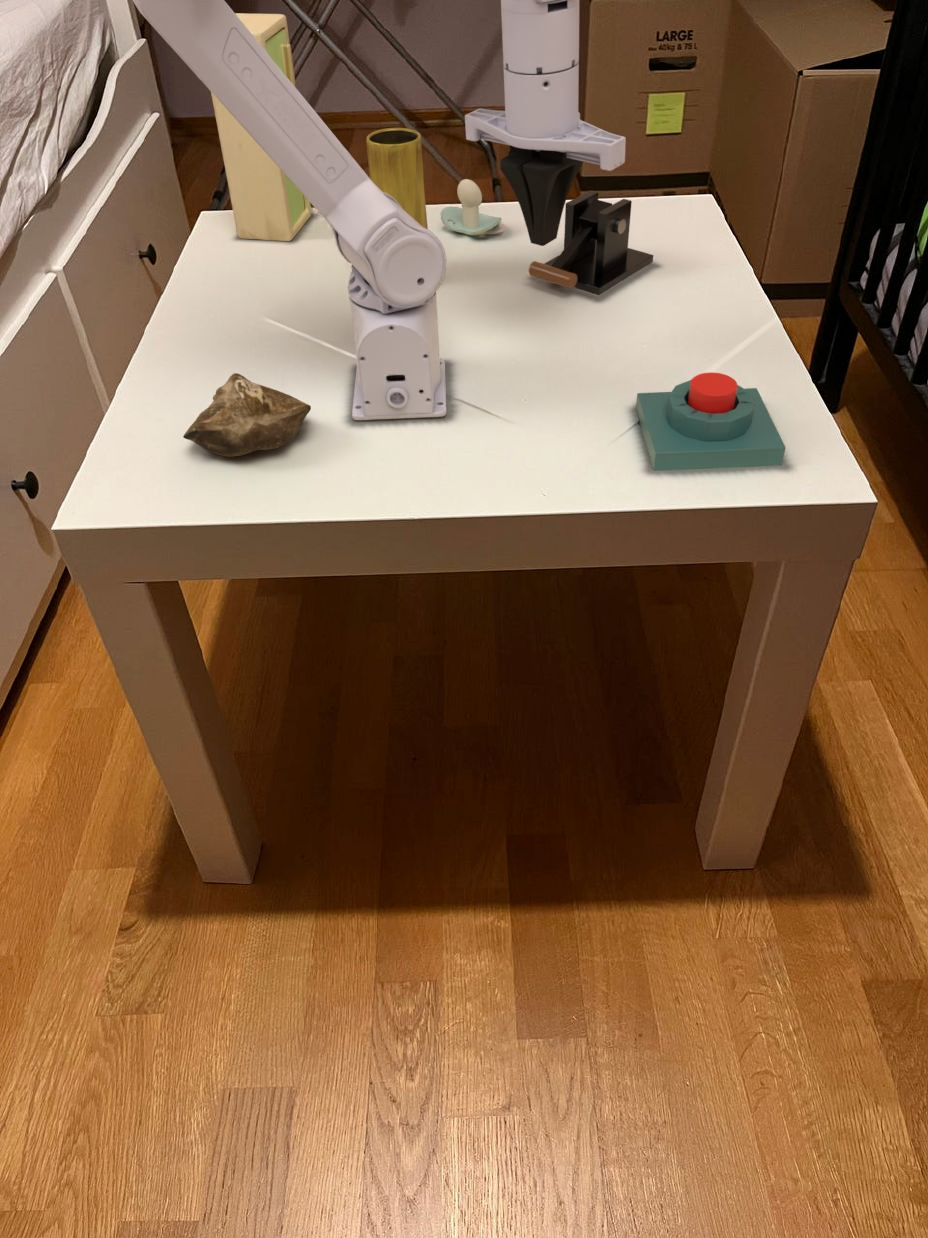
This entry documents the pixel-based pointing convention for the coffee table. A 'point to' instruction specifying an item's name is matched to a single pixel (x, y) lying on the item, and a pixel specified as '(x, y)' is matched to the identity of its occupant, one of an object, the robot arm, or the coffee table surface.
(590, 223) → the lever
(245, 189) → the toy refrigerator
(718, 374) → the button
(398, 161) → the vase
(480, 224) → the pacifier
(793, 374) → the coffee table surface
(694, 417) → the button block
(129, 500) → the coffee table surface
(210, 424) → the fossilized seashell
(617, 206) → the bracket
